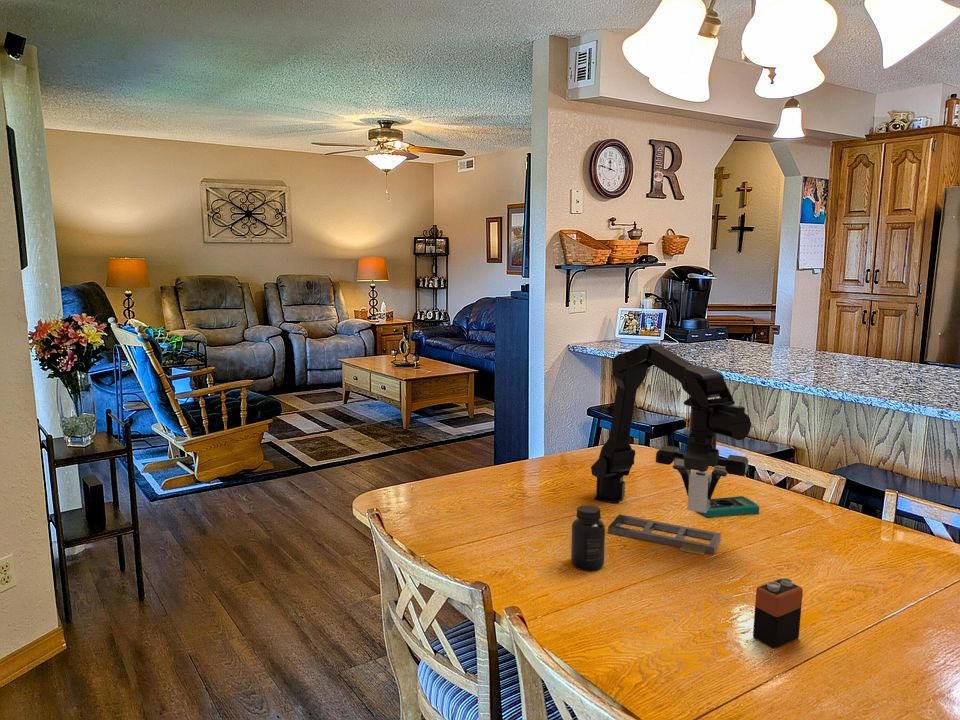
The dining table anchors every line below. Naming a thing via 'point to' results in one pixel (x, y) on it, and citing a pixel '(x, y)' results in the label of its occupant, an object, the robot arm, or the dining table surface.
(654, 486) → the dining table surface
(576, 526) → the supplement bottle
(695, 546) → the rail frame
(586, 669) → the dining table surface
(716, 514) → the digital multimeter
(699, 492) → the grey tall square block
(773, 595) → the battery
